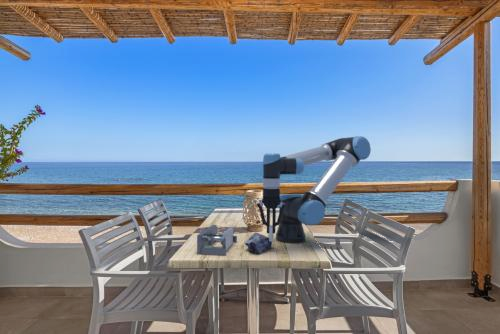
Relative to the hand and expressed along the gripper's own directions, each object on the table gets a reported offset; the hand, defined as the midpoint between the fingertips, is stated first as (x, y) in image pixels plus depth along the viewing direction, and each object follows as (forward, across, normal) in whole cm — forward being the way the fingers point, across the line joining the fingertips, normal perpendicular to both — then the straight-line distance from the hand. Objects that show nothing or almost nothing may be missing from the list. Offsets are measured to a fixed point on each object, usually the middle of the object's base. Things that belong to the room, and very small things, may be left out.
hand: (271, 240), depth 131 cm
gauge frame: (+5, +24, 0) cm, 24 cm away
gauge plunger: (+4, +25, 0) cm, 25 cm away
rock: (+5, +6, 0) cm, 8 cm away
